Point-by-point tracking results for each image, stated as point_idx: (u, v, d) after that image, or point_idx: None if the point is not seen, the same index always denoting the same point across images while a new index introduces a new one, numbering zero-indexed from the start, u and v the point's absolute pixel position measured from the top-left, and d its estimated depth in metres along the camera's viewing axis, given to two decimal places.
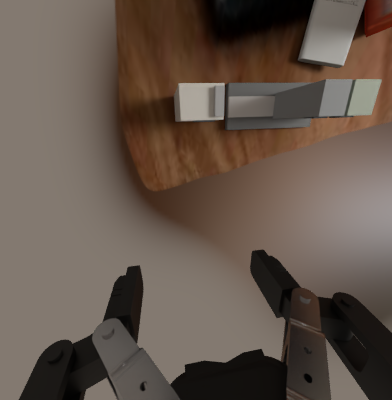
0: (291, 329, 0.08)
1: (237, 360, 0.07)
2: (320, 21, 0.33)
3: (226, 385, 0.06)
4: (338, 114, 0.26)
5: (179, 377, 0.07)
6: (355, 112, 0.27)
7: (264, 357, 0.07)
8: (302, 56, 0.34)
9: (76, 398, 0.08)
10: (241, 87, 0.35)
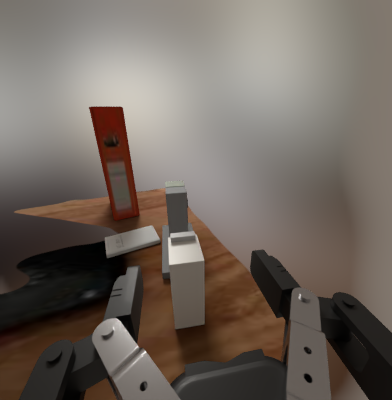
0: (291, 329, 0.08)
1: (237, 360, 0.07)
2: (136, 242, 0.46)
3: (226, 385, 0.06)
4: (184, 187, 0.43)
5: (179, 377, 0.07)
6: (182, 184, 0.45)
7: (264, 357, 0.07)
8: (158, 239, 0.47)
9: (76, 398, 0.08)
10: (165, 263, 0.38)
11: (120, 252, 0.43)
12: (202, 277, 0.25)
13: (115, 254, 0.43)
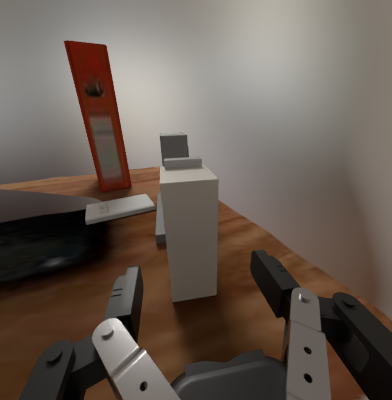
0: (291, 329, 0.08)
1: (236, 360, 0.07)
2: (124, 208, 0.37)
3: (226, 385, 0.06)
4: None
5: (179, 377, 0.07)
6: (181, 133, 0.36)
7: (264, 357, 0.07)
8: (153, 205, 0.38)
9: (76, 398, 0.08)
10: (160, 225, 0.29)
11: (104, 218, 0.34)
12: (214, 211, 0.15)
13: (97, 220, 0.34)
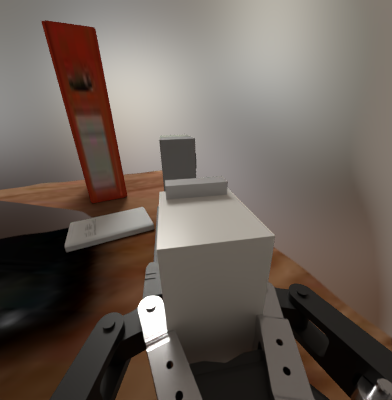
0: (261, 325, 0.08)
1: (236, 361, 0.07)
2: (116, 228, 0.30)
3: (226, 385, 0.06)
4: None
5: None
6: None
7: (264, 357, 0.07)
8: (151, 224, 0.31)
9: (120, 367, 0.09)
10: None
11: (89, 243, 0.27)
12: (261, 290, 0.08)
13: (80, 246, 0.27)
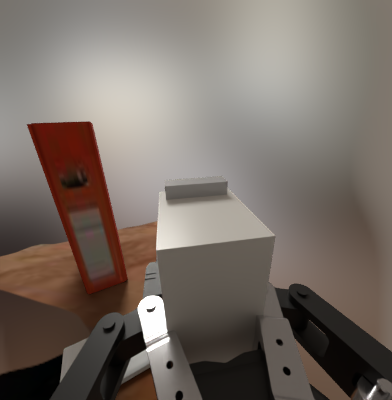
0: (261, 325, 0.08)
1: (237, 360, 0.07)
2: None
3: (226, 385, 0.06)
4: None
5: None
6: None
7: (264, 357, 0.07)
8: None
9: (120, 367, 0.09)
10: None
11: None
12: (261, 291, 0.08)
13: None
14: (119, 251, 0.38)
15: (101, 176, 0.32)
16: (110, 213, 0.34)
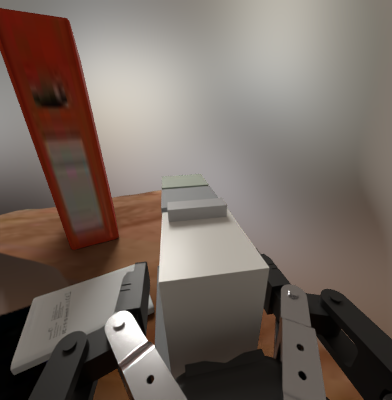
0: (283, 327, 0.08)
1: (237, 361, 0.07)
2: (97, 316, 0.20)
3: (226, 385, 0.06)
4: (210, 189, 0.17)
5: (179, 377, 0.07)
6: (202, 180, 0.19)
7: (264, 357, 0.07)
8: (150, 305, 0.21)
9: (88, 388, 0.08)
10: None
11: None
12: (256, 315, 0.09)
13: (38, 361, 0.17)
14: (108, 200, 0.32)
15: (84, 97, 0.26)
16: (96, 148, 0.29)
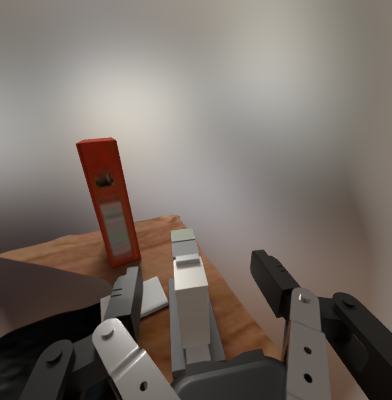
0: (291, 329, 0.08)
1: (236, 360, 0.07)
2: None
3: (226, 385, 0.06)
4: (195, 242, 0.34)
5: (179, 377, 0.07)
6: (192, 235, 0.37)
7: (264, 357, 0.07)
8: (166, 301, 0.38)
9: (76, 398, 0.08)
10: (175, 351, 0.29)
11: None
12: (206, 300, 0.26)
13: None
14: (135, 235, 0.50)
15: (122, 178, 0.44)
16: (128, 205, 0.47)
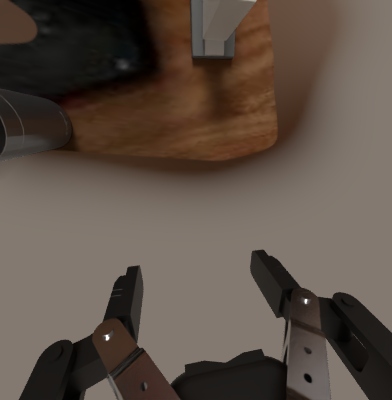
0: (291, 329, 0.08)
1: (236, 360, 0.07)
2: None
3: (226, 385, 0.06)
4: None
5: (179, 377, 0.07)
6: None
7: (264, 357, 0.07)
8: None
9: (76, 398, 0.08)
10: (196, 39, 0.34)
11: None
12: (245, 13, 0.26)
13: None
14: None
15: None
16: None
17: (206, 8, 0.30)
